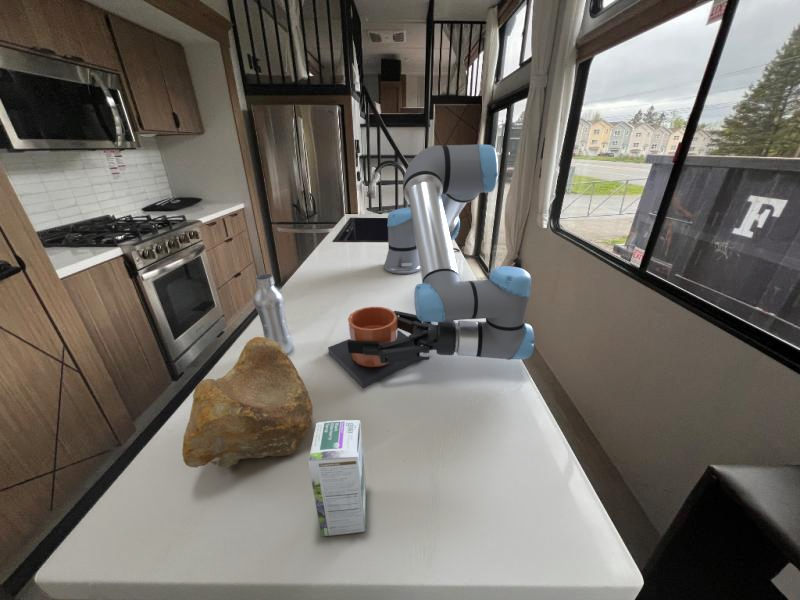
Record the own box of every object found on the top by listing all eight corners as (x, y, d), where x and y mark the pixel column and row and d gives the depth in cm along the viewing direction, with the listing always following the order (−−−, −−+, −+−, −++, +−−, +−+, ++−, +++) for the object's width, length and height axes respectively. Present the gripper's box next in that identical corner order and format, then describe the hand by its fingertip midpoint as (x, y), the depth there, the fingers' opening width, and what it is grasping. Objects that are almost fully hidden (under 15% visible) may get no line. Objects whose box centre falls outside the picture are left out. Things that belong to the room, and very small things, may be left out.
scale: (389, 328, 89) (388, 317, 87) (429, 356, 77) (429, 343, 75) (328, 353, 79) (326, 341, 77) (363, 388, 67) (362, 375, 65)
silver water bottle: (300, 347, 81) (286, 272, 73) (283, 362, 76) (265, 284, 67) (278, 342, 83) (262, 270, 75) (260, 357, 78) (241, 280, 69)
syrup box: (326, 494, 47) (312, 421, 41) (367, 490, 47) (360, 417, 41) (321, 537, 42) (304, 461, 35) (367, 533, 42) (358, 456, 36)
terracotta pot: (381, 338, 81) (379, 302, 76) (406, 357, 73) (406, 319, 69) (344, 353, 75) (339, 315, 71) (367, 376, 68) (364, 335, 63)
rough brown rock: (287, 510, 46) (278, 432, 40) (175, 494, 47) (149, 415, 41) (333, 398, 67) (332, 336, 61) (255, 388, 68) (247, 326, 62)
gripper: (455, 387, 61) (341, 379, 64) (454, 326, 81) (367, 321, 84) (458, 354, 57) (337, 347, 60) (455, 299, 78) (366, 295, 81)
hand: (355, 332), depth 72 cm, fingers closed on terracotta pot, 10 cm apart
